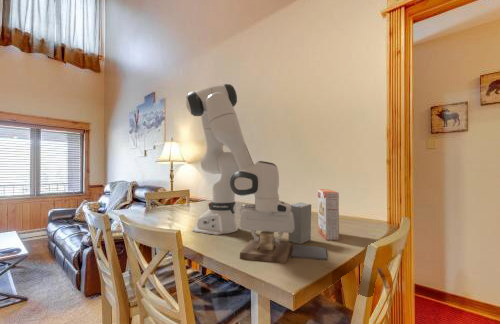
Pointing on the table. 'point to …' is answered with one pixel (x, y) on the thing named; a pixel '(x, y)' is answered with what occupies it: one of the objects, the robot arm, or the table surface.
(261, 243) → the maple block
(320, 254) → the rubber mat
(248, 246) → the pocket plate
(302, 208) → the skincare box
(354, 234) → the table surface
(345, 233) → the table surface
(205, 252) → the table surface
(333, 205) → the cracker box
